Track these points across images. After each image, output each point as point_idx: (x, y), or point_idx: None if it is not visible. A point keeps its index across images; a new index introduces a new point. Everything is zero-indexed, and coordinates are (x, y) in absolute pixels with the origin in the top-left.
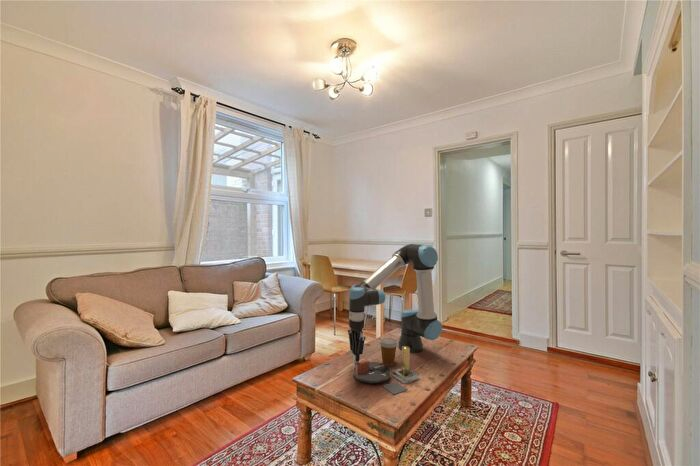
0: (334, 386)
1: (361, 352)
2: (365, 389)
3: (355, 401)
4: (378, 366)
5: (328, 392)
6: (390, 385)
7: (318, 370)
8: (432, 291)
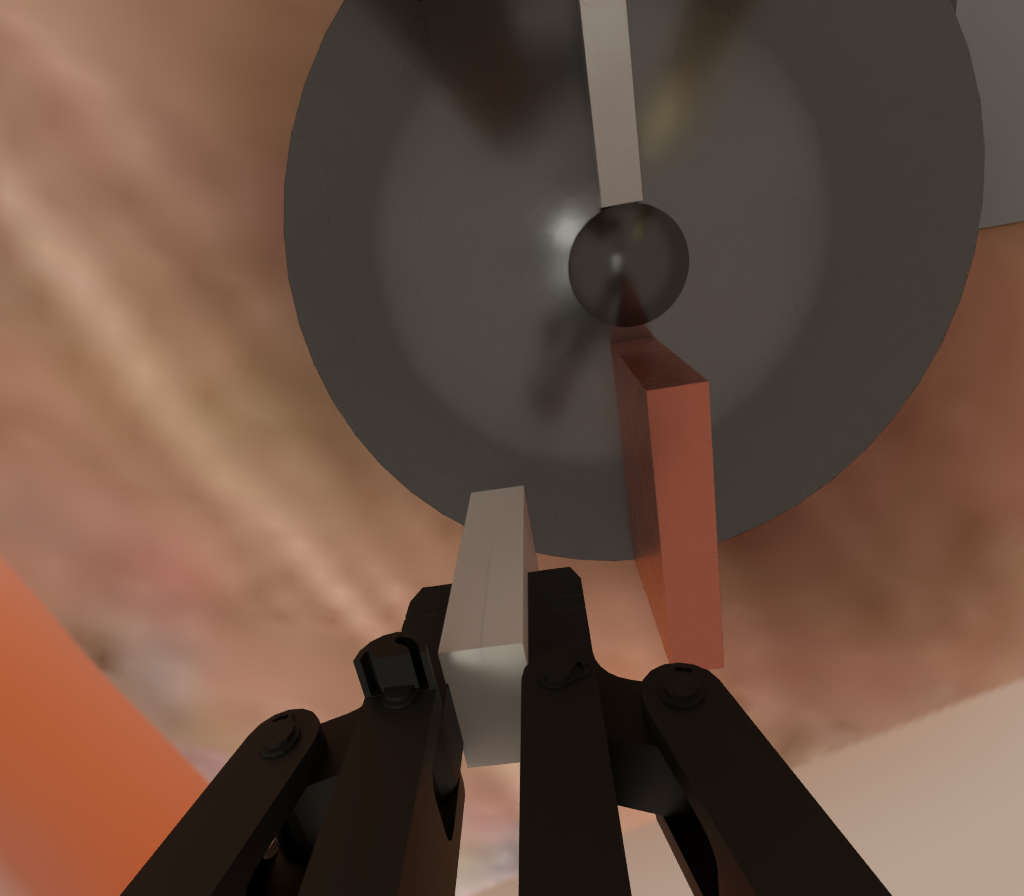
0: None
1: (716, 729)
2: (847, 482)
3: (978, 659)
4: (603, 77)
5: None
6: (1006, 102)
7: None
8: None
